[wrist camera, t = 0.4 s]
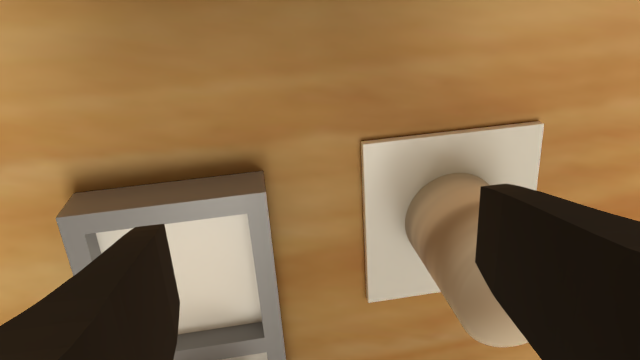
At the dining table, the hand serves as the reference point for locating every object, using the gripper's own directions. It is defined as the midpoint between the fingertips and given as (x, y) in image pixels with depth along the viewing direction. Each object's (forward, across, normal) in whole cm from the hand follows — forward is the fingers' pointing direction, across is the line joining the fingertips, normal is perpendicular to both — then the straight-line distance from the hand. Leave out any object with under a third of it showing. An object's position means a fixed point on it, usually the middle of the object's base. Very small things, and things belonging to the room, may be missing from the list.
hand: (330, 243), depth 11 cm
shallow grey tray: (+10, +5, +9) cm, 14 cm away
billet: (+10, -7, +5) cm, 13 cm away
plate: (+10, -7, +5) cm, 13 cm away
